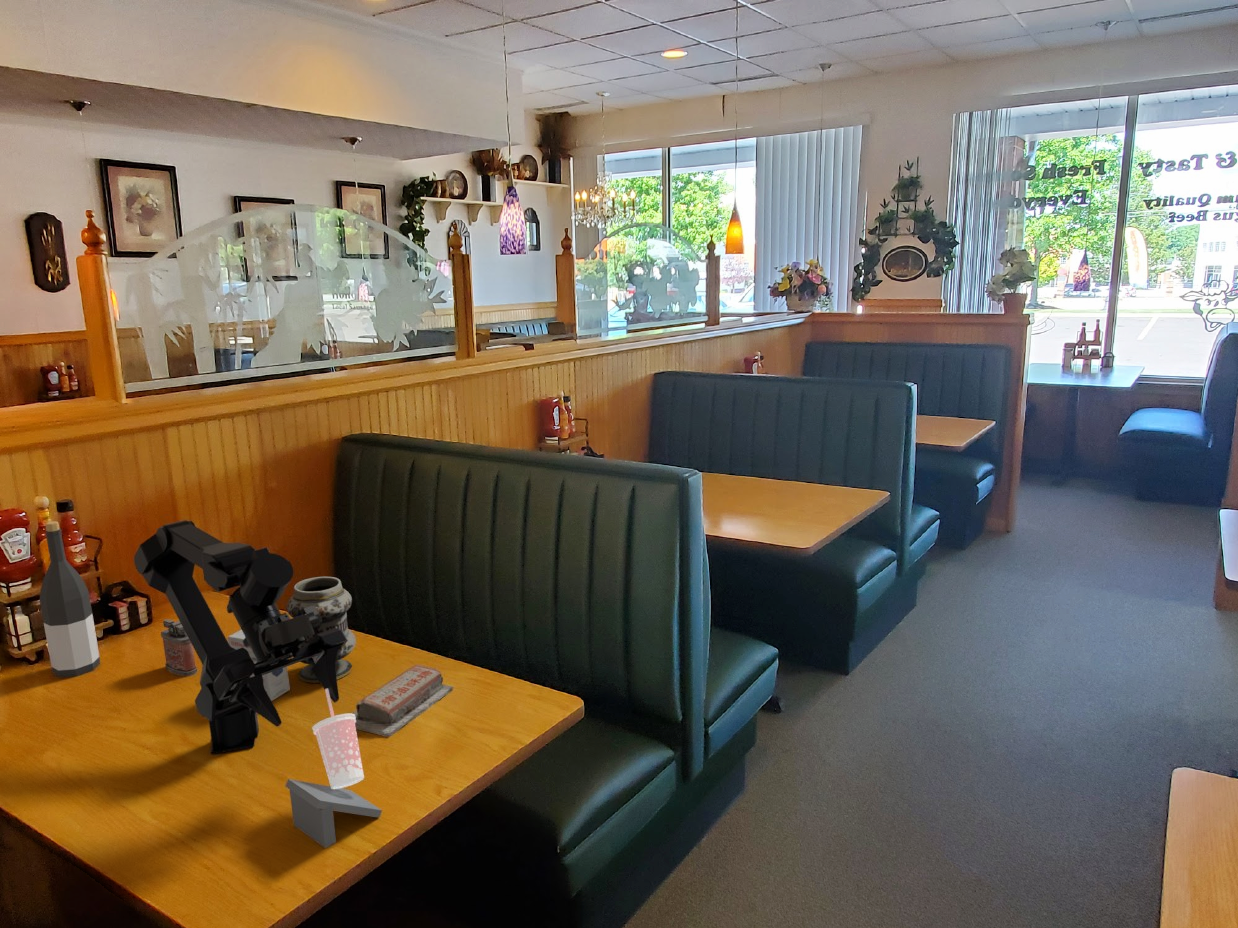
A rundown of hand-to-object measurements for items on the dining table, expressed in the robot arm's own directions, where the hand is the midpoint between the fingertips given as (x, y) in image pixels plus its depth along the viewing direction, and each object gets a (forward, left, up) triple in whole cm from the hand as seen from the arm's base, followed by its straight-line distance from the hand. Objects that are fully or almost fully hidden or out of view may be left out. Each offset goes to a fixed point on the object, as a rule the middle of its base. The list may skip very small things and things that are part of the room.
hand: (309, 712), depth 123 cm
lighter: (-26, +54, -14) cm, 62 cm away
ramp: (+3, -7, -13) cm, 15 cm away
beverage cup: (+4, -5, -9) cm, 12 cm away
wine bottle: (-46, +62, -14) cm, 79 cm away
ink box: (-10, +38, -14) cm, 42 cm away
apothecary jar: (+1, +43, -14) cm, 45 cm away
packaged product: (+13, +24, -14) cm, 31 cm away
